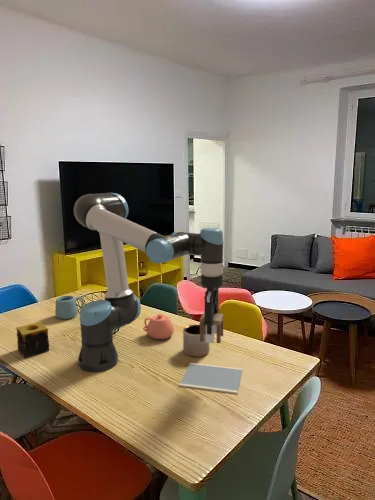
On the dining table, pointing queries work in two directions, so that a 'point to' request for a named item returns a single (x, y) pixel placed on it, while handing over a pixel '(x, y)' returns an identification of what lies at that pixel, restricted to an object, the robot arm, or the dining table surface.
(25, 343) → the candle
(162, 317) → the sugar bowl
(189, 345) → the planter
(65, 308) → the mug
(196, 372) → the rug
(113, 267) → the robot arm
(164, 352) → the dining table surface
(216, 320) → the stool
